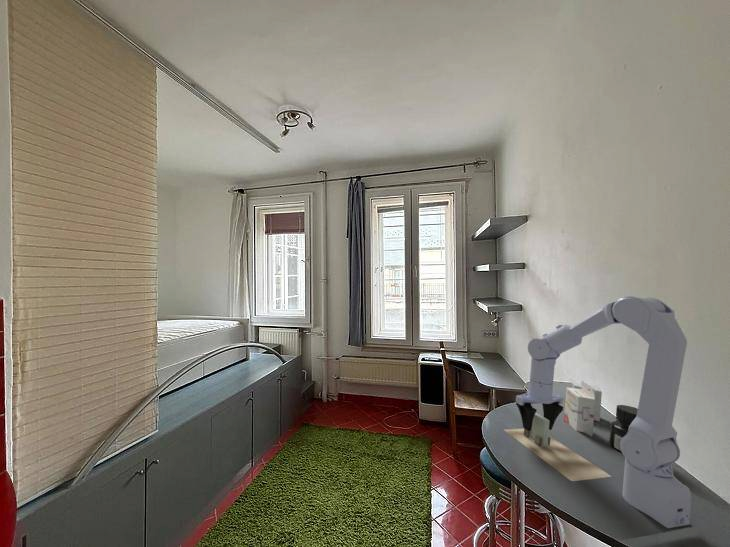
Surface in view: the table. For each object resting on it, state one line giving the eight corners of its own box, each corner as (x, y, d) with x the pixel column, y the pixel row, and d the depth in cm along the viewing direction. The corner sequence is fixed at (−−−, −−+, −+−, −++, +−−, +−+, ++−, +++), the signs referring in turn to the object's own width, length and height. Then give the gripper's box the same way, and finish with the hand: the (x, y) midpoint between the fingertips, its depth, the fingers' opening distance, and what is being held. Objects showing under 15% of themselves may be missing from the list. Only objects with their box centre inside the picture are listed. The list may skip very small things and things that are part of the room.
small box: (597, 416, 106) (600, 387, 106) (600, 422, 101) (602, 391, 101) (570, 409, 110) (573, 381, 110) (571, 414, 106) (574, 385, 106)
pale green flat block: (547, 445, 81) (549, 420, 81) (543, 446, 81) (545, 420, 81) (530, 434, 87) (532, 410, 87) (526, 434, 86) (528, 410, 86)
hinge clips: (550, 445, 82) (550, 437, 82) (539, 445, 81) (539, 438, 81) (534, 434, 87) (534, 427, 87) (523, 434, 86) (524, 428, 86)
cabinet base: (611, 480, 70) (612, 476, 70) (571, 485, 67) (571, 481, 67) (536, 431, 91) (536, 427, 91) (503, 433, 88) (503, 429, 88)
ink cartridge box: (562, 421, 100) (566, 377, 100) (579, 423, 99) (582, 380, 99) (575, 434, 91) (579, 386, 91) (593, 437, 90) (597, 389, 90)
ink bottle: (615, 456, 81) (618, 412, 81) (601, 440, 89) (604, 400, 89) (660, 466, 77) (664, 421, 77) (642, 449, 86) (645, 408, 86)
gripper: (549, 375, 89) (546, 420, 89) (509, 376, 86) (505, 422, 86) (571, 384, 83) (567, 433, 83) (528, 385, 79) (524, 435, 79)
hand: (537, 428), depth 84 cm, fingers open, 7 cm apart
